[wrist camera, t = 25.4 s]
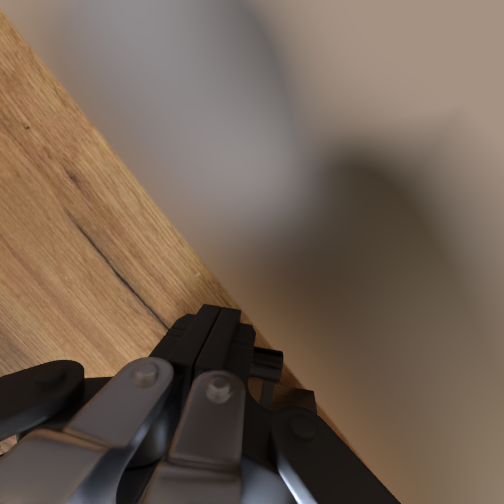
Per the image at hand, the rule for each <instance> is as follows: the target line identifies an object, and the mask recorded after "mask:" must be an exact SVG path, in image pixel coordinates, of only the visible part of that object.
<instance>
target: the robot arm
mask: <svg viewBox="0 0 504 504" xmlns="http://www.w3.org/2000/svg"><path fill="white" fill-rule="evenodd" d="M240 318H241V310H237V309H232V308H226V307H223V308H222V307H220V306H214V305H208V304H203V305H202V307H201V308H200V310H199V311H198V313H197V314H196V315H193V314H186V315H184V316H183V317H181V318H179V319H177V321H176V322H175V323H174V324H173V326H172V327H171V329H169V331H168V332H167V333H166V335H165V336H164V337H163V338H162V340H161V341H160V342H159V343H158V345H157V346H156V347H155V348H154V350H153V351H152V352H151V354H150V355H149V356H148V357H145V358H140V359H137V360H134V361H132V362H130V363H128V364H127V365H125V366H124V367H123V368H122V369H121V370H120V371H119V372H118V373H117V374H116V375H115V376H113V377H98V378H84V368H83V366H82V365H81V364H80V363H78V362H76V361H72V360H56V361H51V362H47V363H44V364H40V365H37V366H34V367H31V368H28V369H24V370H21V371H18V372H15V373H12V374H8V375H5V376H2V377H0V441H2V440H4V439H6V438H9V437H11V436H13V435H15V434H16V439H17V443H16V444H15V445H14V446H13V447H12V448H11V449H9V450H8V451H7V452H6V453H4V454H2V455H0V504H401V503H400V502H399V501H398V500H397V499H396V498H395V497H394V496H393V495H392V494H391V493H390V491H389V490H388V489H387V488H386V487H385V486H384V485H383V484H382V483H381V482H380V481H379V480H378V478H377V477H376V476H375V475H374V474H373V473H372V472H371V471H370V470H369V469H368V468H367V467H366V466H365V464H364V463H363V462H362V461H361V460H360V459H359V458H358V457H357V456H356V455H355V454H354V453H353V452H352V450H351V449H350V448H349V447H348V446H347V445H346V444H345V443H344V442H343V441H342V440H341V439H340V438H339V436H338V435H337V434H336V433H335V432H334V431H333V430H332V429H331V428H330V427H329V426H328V425H327V424H326V422H325V421H324V420H323V419H322V418H321V417H320V416H318V415H317V414H316V413H314V412H313V411H311V410H309V409H306V408H304V407H300V406H286V407H283V408H281V409H279V410H278V411H277V412H276V413H274V412H272V411H270V410H268V409H266V408H265V407H263V406H261V405H260V404H259V403H258V402H256V401H255V400H254V398H253V397H252V396H251V394H250V392H249V389H248V380H249V374H250V368H251V362H252V356H253V349H254V343H255V336H256V332H255V330H254V328H253V326H252V325H249V324H244V323H240ZM175 432H176V433H175ZM174 434H175V436H174ZM173 437H174V439H173ZM172 439H173V442H172V445H171V448H170V451H169V453H168V449H169V446H170V443H171V441H172Z"/></svg>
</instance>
